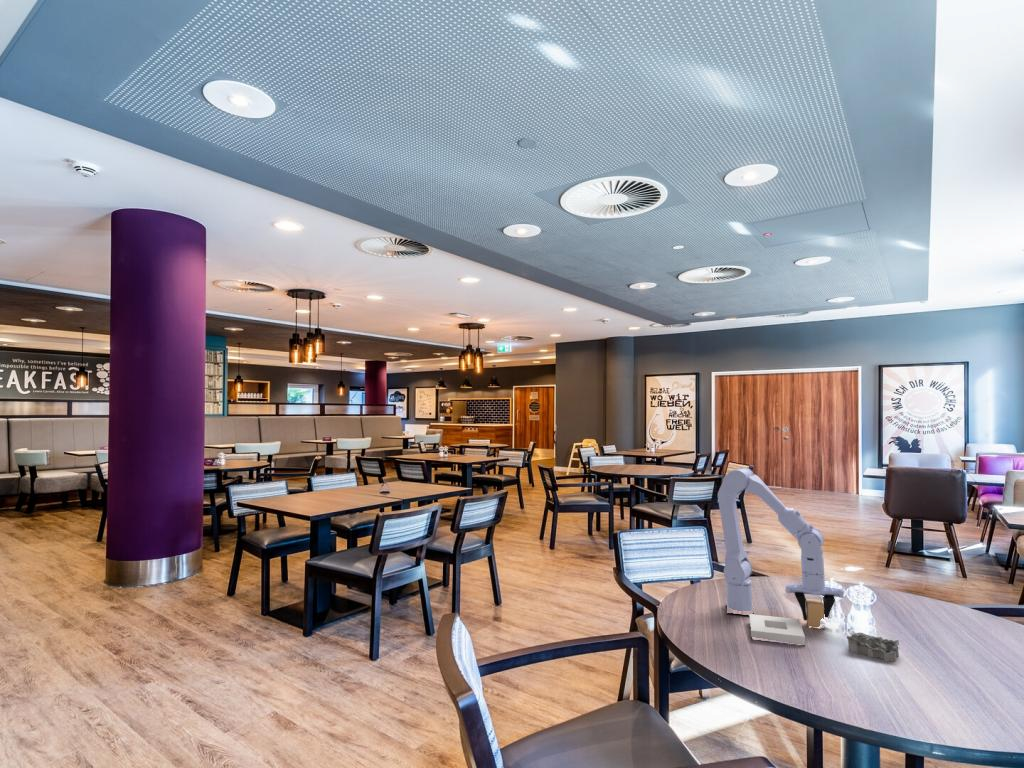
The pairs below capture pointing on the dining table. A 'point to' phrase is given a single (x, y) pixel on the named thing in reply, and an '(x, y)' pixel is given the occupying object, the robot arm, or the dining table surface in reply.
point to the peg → (814, 612)
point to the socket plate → (787, 633)
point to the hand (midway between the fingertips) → (815, 620)
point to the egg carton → (866, 643)
